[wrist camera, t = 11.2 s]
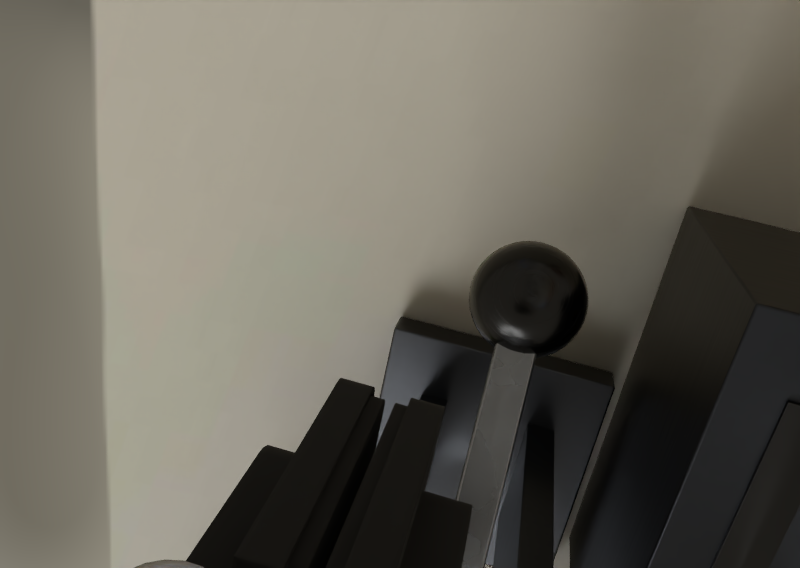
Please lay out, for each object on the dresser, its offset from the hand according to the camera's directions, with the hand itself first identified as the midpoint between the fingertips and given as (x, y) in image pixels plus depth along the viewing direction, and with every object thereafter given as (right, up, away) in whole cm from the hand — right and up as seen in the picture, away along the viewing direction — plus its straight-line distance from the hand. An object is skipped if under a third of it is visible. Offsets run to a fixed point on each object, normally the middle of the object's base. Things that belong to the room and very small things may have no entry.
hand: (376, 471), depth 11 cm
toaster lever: (+3, -2, +9) cm, 10 cm away
